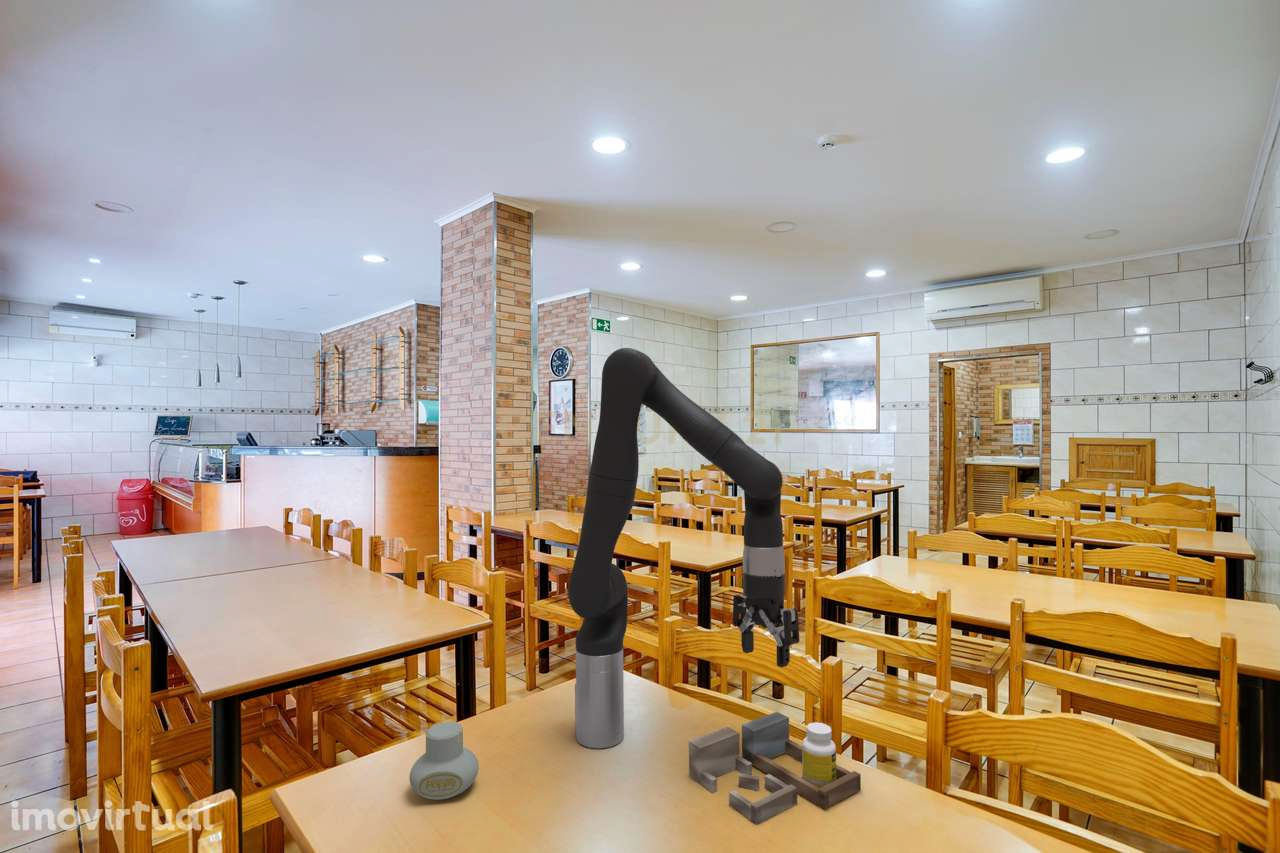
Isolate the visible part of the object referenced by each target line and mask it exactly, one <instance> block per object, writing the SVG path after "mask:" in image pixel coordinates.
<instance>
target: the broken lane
mask: <svg viewBox="0 0 1280 853" xmlns="http://www.w3.org/2000/svg"><path fill="white" fill-rule="evenodd" d="M740 735H741V734H740V732H738V731H737V730H735V729H733V728H731V727H730V726H725V727H722V728H720V729H717V730H715V731H712V732H710V733H706V734H704V735H701V736H697V737H696V738H694V739H693V738H692V739H690V740H688V776H689V777H690V778H691V779H693V780H694V781H695V782H697V783H698V784H699V785H701V786H702V787H703V788H705V789H707V790H708V791H709V792H710V793H712V794H713V793H715V792H717V791H718V779H717V778H719V777H721V776H723V775H725V774H728V773H730V772H732V771H734V770H737V771H738V772H739V774H738V788H743V789H747V790H752V791H753V790H754V791H759V789H760V776H758V775H754V774H753V765H752V763H751V762H749V761H747V760H746V759H744V758H742V755H741V750H740V749H741V748H740V747H741V746H740V744H741V743H740ZM764 789H766V790H767V791H769V792H771V793H770V794H768V795H766V796H764V797H762V798H760V799H758V800H756V801H754V802H752V801H751V800H749V799H748V798H747V797H744V796H743V794H740V793H739V792H737V791H736V790H734V789H733V790H731V791H729V792H728V796H729V797H728V802H729V803H728V805H729V806H730V807H732V808H733V809H734V810H736V811H737V812H739V813H740V815H741V814H742V816H743V817H745V818H747V820H749V821H751V822H752V823H754V824H755V825H758V824H761V823H762V822H764V821H767V820H768V819H771V818H772V817H775V816H776V815H778V814H780V813H782V812H784V811H786V810H788V809H790V808H792V807H793V806H795V805H796V806H797V805H798V792H797V787H795V786H793V785H792V784H791V785H789V786H788V785H787V784H785V783H783V782H782V781H780V780H778V779H777V778H775V777H773V776H772V775H770V774H766V775H764Z"/></svg>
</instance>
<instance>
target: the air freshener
mask: <svg viewBox="0 0 1280 853" xmlns="http://www.w3.org/2000/svg"><path fill="white" fill-rule="evenodd" d="M463 728H464V727H463V725H461V724H460V723H458V722H457V721H456V722H455V721H444V722H443V721H442V722H439V723H436V724H434V725H432V726H430V727H429V728H428V729H427V731H426V733H425V753H423V754H422V755H421V756H420V757H419V758H418V759H416V761H415V762H414V763H413V765H412V767H411V769H410V772H409V783H410V784H409V785H410V787H411V788H412V790H413V791H414V793H416V794H418V795H419V796H420V797H422V798H425V799H428V800H435V801H444V800H443V799H446V800H447V799H452V798H453V797H455V796H458V795H460V794H462V793H463V792H465V791H466V790H467V789H468V788H470V786H471V785H472V784H473V783H474V781H475V780H476V778H477V776H478V772H479V769H480V766H479V759H478V758H477V756H476V754H475V753H473V751H471V750H470V749H469V748H466V747H464V732H463Z"/></svg>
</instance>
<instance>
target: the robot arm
mask: <svg viewBox="0 0 1280 853" xmlns="http://www.w3.org/2000/svg"><path fill="white" fill-rule="evenodd" d="M602 367H603V368H602V373H601V388H600V408H599V409H600V411H599V420H598V426H597V431H596V436H595V440H594V446H593V452H592V459H591V463H590V468H589V469H590V470H589V473H588V474H589V475H588V480H587V486H586V487H587V488H586V497H585V504H584V511H583V515H582V522H581V530H580V535H579V536H580V537H579V541H578V546H577V551H576V553H575V558H574V561H573V566H572V570H571V573H570V576H569V580H568V582H569V583H568V589H567V596H568V602H569V605H570V607H571V609H572V611H573V612H574V613H575V614H576V615H577V616H579V617H581V618H582V619H583V622H582V624H581V626H580V627H579V629H578V631H577V633H576V635H575V684H574V723H575V724H574V727H575V728H574V731H575V732H574V733H576V734H575V737H576V741H577V743H579V745H582V746H583V747H586V748H589V749H606V748H610V747H611V748H612V747H613V746H616V745H618V744H620V743H621V742H622V741H623V740H624V737H625V711H624V710H625V707H624V706H625V705H624V704H625V703H624V702H625V700H624V695H625V693H624V691H625V690H624V686H625V685H624V683H625V682H624V638H625V634H626V632H627V629H628V628H627V627H628V626H627V625H628V599H629V596H628V594H629V593H628V592H629V590H628V583H627V579H626V576H625V574H624V572H623V570H622V569H621V568H620V567H619V566H618V565H616V564H614V563H613V557H614V552H615V549H616V546H617V542H618V540H619V537H620V536H621V534H622V531H623V530H624V527H625V525H626V523H627V520H628V518H629V516H630V514H631V511H632V509H633V506H634V501H635V498H636V497H635V496H636V490H637V486H638V484H637V483H638V478H639V470H640V469H639V466H640V465H639V464H640V463H639V462H640V460H639V445H638V426H639V417H640V414H641V413H640V412H641V407H642V405H643V406H645V407H647V408H648V409H649V410H651V411H652V412H654V413H656V414H657V415H658V416H660V418H662V419H663V420H664V421H666V422H667V424H668V425H669V426H671V428H673V430H674V431H675V432H676V433H677V434H678V435H679V436H680V437H681V438H682V439H683V440H684V441H685V442H686V443H687V444H688V445H689V446H691V448H692V449H694V450H695V451H697V453H698V454H700V455H701V456H702V457H703V458H704V459H706V460H707V461H709V462H710V463H711V464H712V465H713V466H715V467H717V468H718V469H720V470H721V471H723V472H724V473H725V474H726V475H727V476H728V477H729V478H730V479H731V480H732V481H733V482H734V483H735V484H736V485H737V486H738V487H739V488H741V490H743V497H744V511H745V512H744V518H743V550H742V593H739V594H735V595H734V596H733V600H732V601H733V602H732V603H733V604H732V606H733V608H732V625H733V627H736V628H738V629H739V632H740V633H741V634H740V635H741V637H740V638H741V649H742V652H743V653H745V654H750V653H753V652H754V649H755V648H754V647H755V645H754V642H755V641H754V640H755V638H754V637H755V636H754V631H753V629H754V628H755V626H761V627H763V628H764V629H767V630H768V632H769V634H770V635H772V636H773V639H774V640H775V642H776V644H777V645H776V666H777V667H778V668H781V669H782V668H785V667H787V666H788V665H789V664H790V662H791V660H790V659H791V656H790V650H791V648H790V647H791V646H792V645H793V646H794V645H797V644H799V643H800V641H801V640H800V627H799V626H800V625H799V612H798V611H799V610H798V609H797V608H795V607H794V608H786V607H785V606H784V603H783V600H784V597H785V595H786V568H785V567H786V565H785V563H786V562H785V561H786V560H785V551H784V531H783V530H784V528H783V527H784V526H783V519H782V516H781V506H782V504H781V502H782V500H781V499H782V498H781V497H782V495H781V494H782V487H783V482H784V480H783V474H782V472H781V471H780V469H779V468H778V466H777V465H776V464H775V463H774V462H772V461H771V460H769V459H767V458H765V457H764V456H763V455H761V454H760V453H759V452H758V451H756V450H755V449H753V448H752V447H751V446H749V445H748V444H746V442H745V441H744V440H743V439H742V438H741V436H739V435H738V434H737V433H735V432H734V431H733V430H732V429H730V428H729V427H728V426H726V425H725V423H723V422H721V421H720V419H718V418H716V417H715V416H714V415H713V414H711V413H709V412H708V411H707V410H705V409H704V408H703V407H702V406H700V405H699V404H697V403H696V402H695V401H693V400H692V399H691V398H690V397H688V396H687V395H686V394H684V392H682V391H681V390H680V389H679V388H677V386H676V385H674V383H672V382H671V381H670V380H669V379H668V378H667V377H666V375H665V374H663V372H662V371H661V370H660V369H659V367H658V366H657V365H656V364H655V363H654V361H653V360H652V359H651V358H650V356H648V354H645V353H644V352H642V351H640V350H638V349H635V348H632V347H631V348H630V347H623V348H618V349H616V350H614V351H613V352H612V353H610V355H609V356H608V357H607V358H606V360H605V361H604V363H603V366H602ZM777 625H778V626H777ZM776 626H777V627H776Z"/></svg>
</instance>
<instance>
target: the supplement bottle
mask: <svg viewBox="0 0 1280 853" xmlns="http://www.w3.org/2000/svg"><path fill="white" fill-rule="evenodd" d="M832 736H833V735H832V727H831V726H829V725H828V724H825V723H823V722H810V723H808V724H807V725H806V737H804V739H803V740H802V743H801V744H802V745H801V746H802V761H801V763H802V764H801V766H802V768H801V770H802V771H801V772H802V776H801V778H802V779H804V780H806V781H808V782H809V783H811V784H813V785H814V786H816V787H818V788H821V787H823V786H825V785H827V784H829V783H831V782H833V781H835V780H836V764H837V747H836V746H837V745H836V744H835V742H834V741H833V740H832Z"/></svg>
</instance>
